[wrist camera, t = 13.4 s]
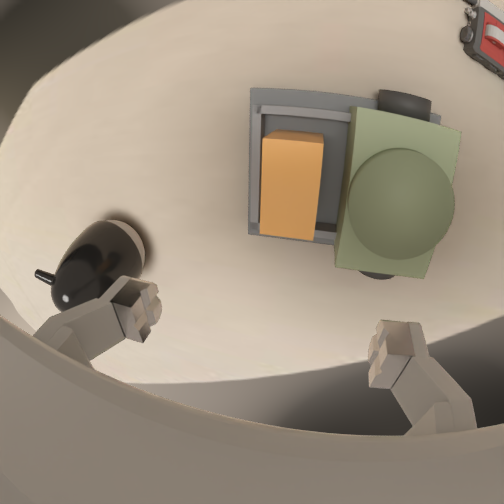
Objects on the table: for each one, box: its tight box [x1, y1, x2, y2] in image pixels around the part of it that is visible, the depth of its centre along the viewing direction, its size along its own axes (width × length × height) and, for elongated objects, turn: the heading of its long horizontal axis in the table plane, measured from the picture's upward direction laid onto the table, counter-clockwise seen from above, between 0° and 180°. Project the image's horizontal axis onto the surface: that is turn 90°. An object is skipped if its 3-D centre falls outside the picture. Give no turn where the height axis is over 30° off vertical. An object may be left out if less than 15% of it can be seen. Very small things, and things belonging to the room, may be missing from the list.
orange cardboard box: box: [260, 129, 324, 241], centre depth 25 cm, size 4×8×7 cm, turn 179°
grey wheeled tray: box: [248, 88, 461, 280], centre depth 24 cm, size 19×18×9 cm
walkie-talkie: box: [460, 0, 504, 80], centre depth 13 cm, size 9×4×20 cm
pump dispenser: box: [35, 220, 145, 312], centre depth 33 cm, size 10×10×15 cm
